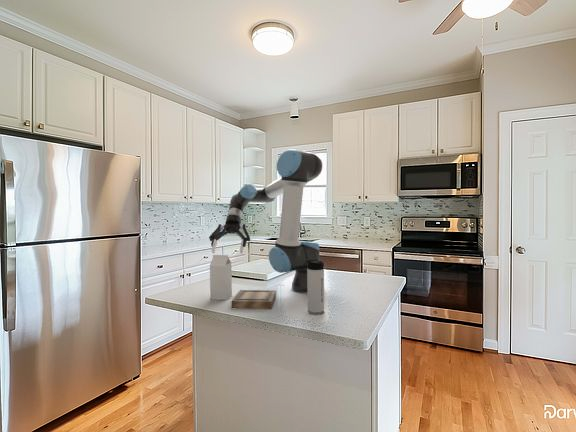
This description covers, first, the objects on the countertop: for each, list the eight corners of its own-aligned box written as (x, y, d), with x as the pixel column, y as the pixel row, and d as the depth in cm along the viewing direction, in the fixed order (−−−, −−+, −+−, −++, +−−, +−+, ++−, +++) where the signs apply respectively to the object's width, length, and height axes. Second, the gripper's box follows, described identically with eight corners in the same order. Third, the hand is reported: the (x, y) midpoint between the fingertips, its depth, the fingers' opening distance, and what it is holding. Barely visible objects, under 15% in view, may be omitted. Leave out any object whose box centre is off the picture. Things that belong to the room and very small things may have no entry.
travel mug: (305, 309, 119) (305, 258, 119) (322, 309, 120) (322, 258, 119) (307, 315, 113) (307, 261, 112) (325, 314, 114) (325, 261, 113)
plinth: (275, 296, 136) (275, 289, 136) (271, 309, 120) (271, 300, 120) (240, 296, 137) (240, 289, 137) (231, 308, 121) (231, 300, 121)
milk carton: (225, 300, 132) (225, 256, 131) (210, 299, 133) (209, 256, 133) (232, 295, 139) (231, 253, 138) (217, 295, 140) (216, 253, 140)
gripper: (258, 223, 162) (254, 256, 148) (212, 223, 164) (203, 256, 150) (256, 213, 157) (251, 246, 142) (208, 213, 159) (199, 246, 144)
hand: (226, 251), depth 146 cm, fingers open, 13 cm apart
